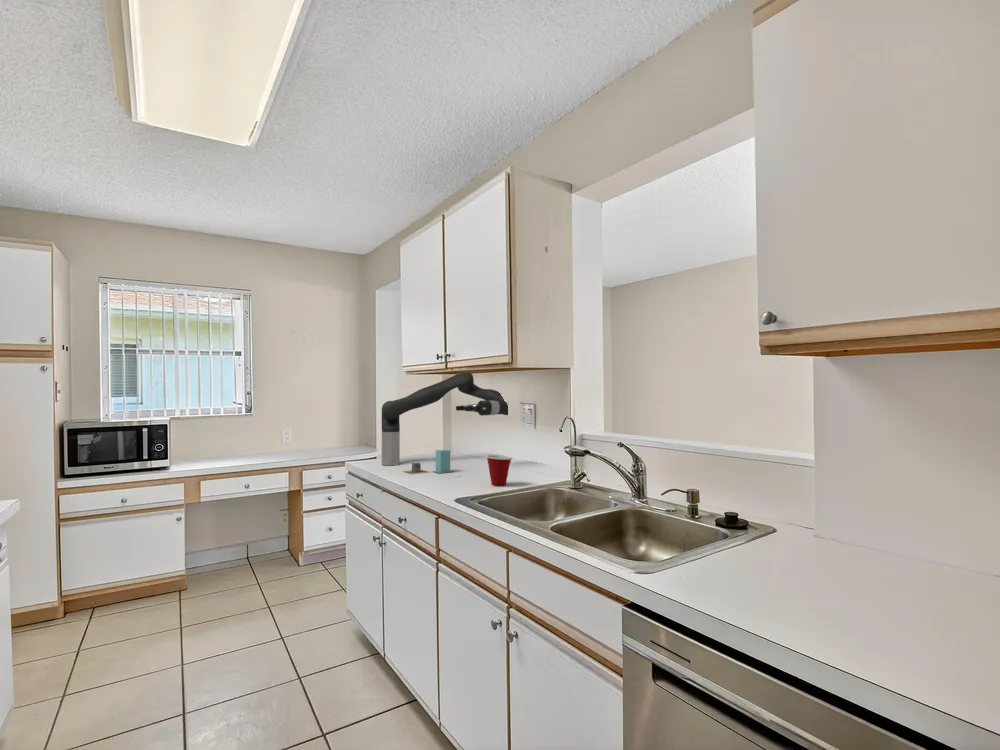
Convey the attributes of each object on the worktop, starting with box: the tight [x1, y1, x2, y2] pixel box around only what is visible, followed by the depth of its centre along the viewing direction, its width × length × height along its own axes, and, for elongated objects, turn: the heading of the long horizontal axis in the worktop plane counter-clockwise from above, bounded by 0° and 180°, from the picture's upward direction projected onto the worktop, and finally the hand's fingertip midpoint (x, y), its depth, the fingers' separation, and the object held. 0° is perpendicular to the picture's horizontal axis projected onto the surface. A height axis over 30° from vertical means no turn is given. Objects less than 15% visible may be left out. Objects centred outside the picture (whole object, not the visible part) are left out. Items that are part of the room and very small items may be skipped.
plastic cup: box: [485, 454, 513, 487], centre depth 214 cm, size 11×11×12 cm
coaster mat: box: [432, 470, 455, 475], centre depth 241 cm, size 8×8×1 cm
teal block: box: [435, 449, 451, 474], centre depth 242 cm, size 5×5×10 cm
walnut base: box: [402, 462, 431, 475], centre depth 242 cm, size 10×10×5 cm
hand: (460, 408), depth 253 cm, fingers open, 8 cm apart
